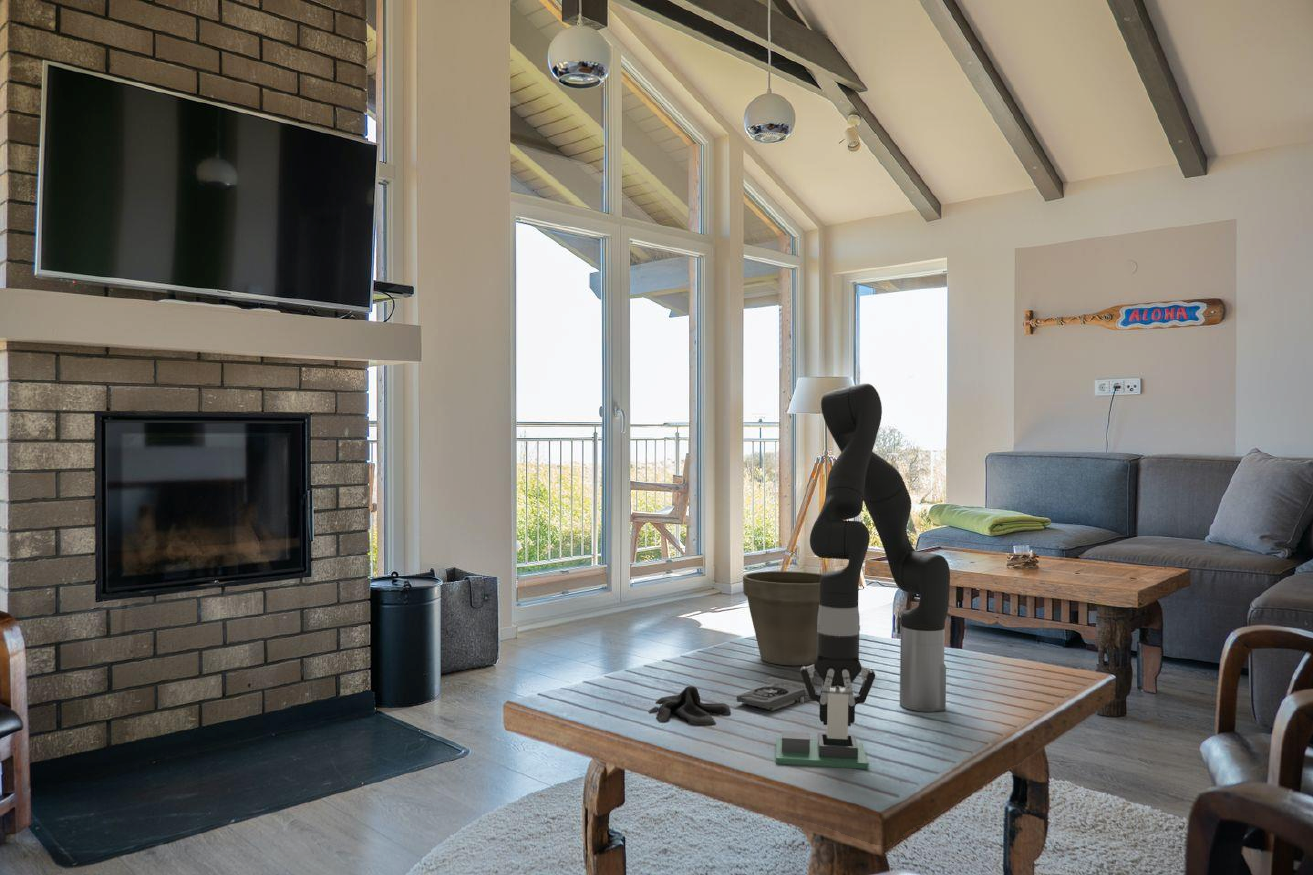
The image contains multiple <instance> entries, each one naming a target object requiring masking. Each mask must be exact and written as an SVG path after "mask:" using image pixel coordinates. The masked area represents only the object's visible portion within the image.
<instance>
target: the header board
mask: <svg viewBox="0 0 1313 875" xmlns="http://www.w3.org/2000/svg"><path fill="white" fill-rule="evenodd" d="M856 738H857V737H856V735H855V734H848V739H830V738H827V733H826V732H817V739H815V740H813V739H811V737H810V732H808V731H807V732H804V731H788V730H787V731H783V730H782V731H781V738H776V742H775V743H776V744H775V747H776V750H775V764H776V765H792V766H793V765H795V766H808V767H809V766H813V767H814V766H815V767H826V768H827V767H829V768H830V767H831V768H846V769H863V770H864V769H866V770H868V769H869V762H868V758H867V755H866V754H867V753H866V750H865V747H864V742H857V739H856Z"/></svg>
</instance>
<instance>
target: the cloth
mask: <svg viewBox="0 0 1313 875" xmlns="http://www.w3.org/2000/svg"><path fill="white" fill-rule="evenodd" d="M654 704H656V705H659V707H658V706H654V707H652V708H651V709H650V710H648V714H649V715H650V714H655V713H657V714H656V717H655V719H656V721H657V722H658V723H659V724H660V723H661V724H666V723H668V722H669V721H670V718H671V715H673V716H677V717H681V718H682V719H685V720H687V722H688V726H716V725H717V722H716V721H715V720H714V718H713V717H712V716H711V714H713V715H714V714H715V715H720V716H723V717H730V716H731V714H732V712H731V708H730V706H729V705H728V704H727V703H724V702H721V703H711V702H710V703H708V702H707V703H705V702H704V703H703V702H701V696H700V693H699V691H698V688H697V687H696V686H693V685H690V686H688V685H687V686H686V687H685V688H684V689H682V691H681V692H680V694H676V695H669V696H663V697H660V698H659V699H657V700H656V701H655V702H654ZM661 704H662V705H661Z"/></svg>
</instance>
